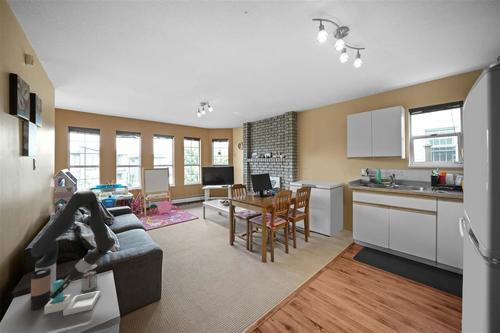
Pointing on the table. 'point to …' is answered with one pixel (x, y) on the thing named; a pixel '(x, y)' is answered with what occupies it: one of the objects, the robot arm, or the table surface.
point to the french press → (89, 279)
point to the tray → (81, 303)
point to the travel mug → (40, 288)
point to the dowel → (60, 296)
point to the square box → (57, 305)
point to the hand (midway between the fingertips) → (53, 295)
